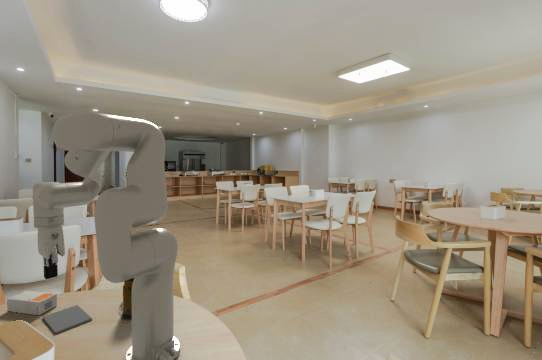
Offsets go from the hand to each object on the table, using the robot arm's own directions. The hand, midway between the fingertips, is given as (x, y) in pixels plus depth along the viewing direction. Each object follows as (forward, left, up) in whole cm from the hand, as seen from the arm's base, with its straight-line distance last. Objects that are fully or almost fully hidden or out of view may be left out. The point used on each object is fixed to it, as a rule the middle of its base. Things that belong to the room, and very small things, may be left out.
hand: (50, 277), depth 90 cm
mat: (-12, -1, -10) cm, 15 cm away
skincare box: (-2, +1, -8) cm, 8 cm away
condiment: (-24, -15, -10) cm, 30 cm away
